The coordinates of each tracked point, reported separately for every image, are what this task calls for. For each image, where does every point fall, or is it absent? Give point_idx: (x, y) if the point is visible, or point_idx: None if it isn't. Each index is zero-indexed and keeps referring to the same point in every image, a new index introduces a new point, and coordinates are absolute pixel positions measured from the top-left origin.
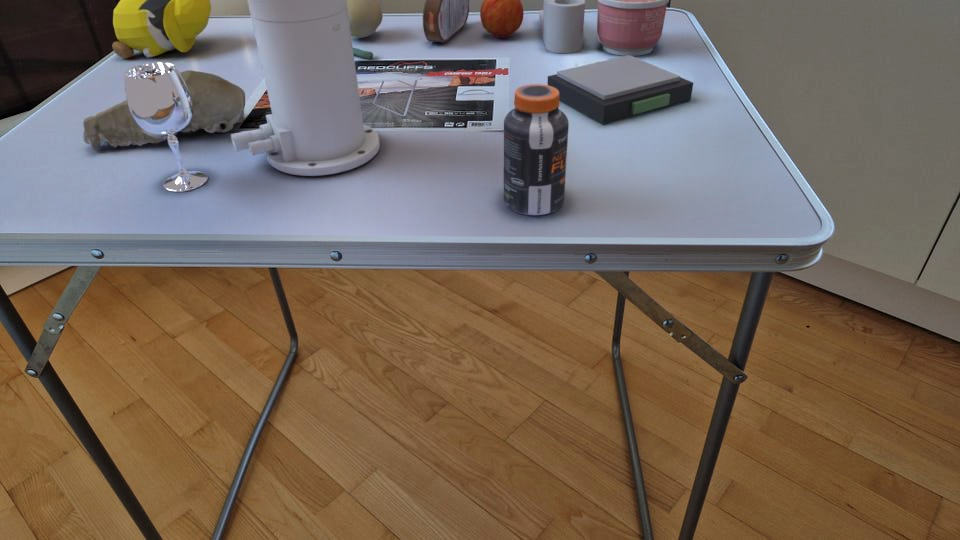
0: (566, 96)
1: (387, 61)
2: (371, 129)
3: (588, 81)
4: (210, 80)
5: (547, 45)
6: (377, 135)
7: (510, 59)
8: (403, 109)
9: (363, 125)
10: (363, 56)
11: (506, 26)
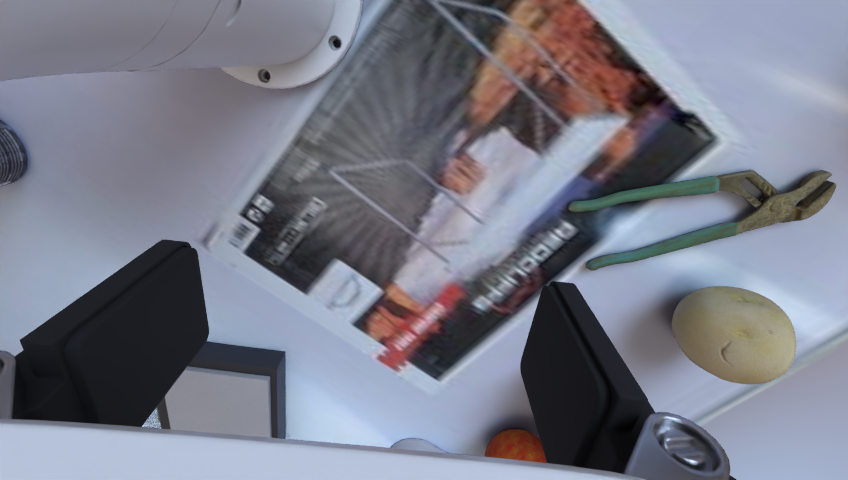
0: (235, 353)
1: (558, 275)
2: (268, 84)
3: (212, 383)
4: None
5: (419, 444)
6: (240, 79)
7: (425, 393)
8: (355, 184)
9: (290, 81)
10: (602, 256)
11: (488, 446)
